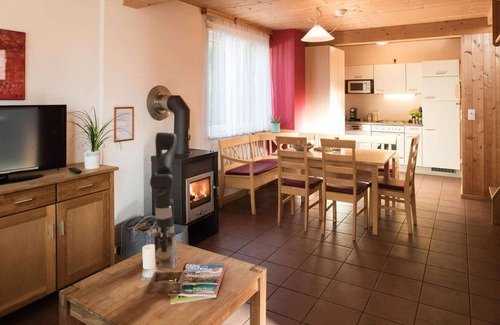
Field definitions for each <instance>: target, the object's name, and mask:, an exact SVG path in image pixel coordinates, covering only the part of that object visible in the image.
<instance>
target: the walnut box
mask: <svg viewBox="0 0 500 325" xmlns="http://www.w3.org/2000/svg"><path fill="white" fill-rule="evenodd" d="M185 278H186V274H185V270H182V271H181V270H179V271H177V270H176V271H175V270H174V271H173V270H171V271H154V272H153V274H152V277H151V278H150V279H149V280H150V281H149V282H148V293H149V294H171V293H170V292H172V291H181V289H182V290H183V288H182V286H183V287H184V285H183V282H184V279H185ZM175 279H180V280H179V282H175V281H169V280H175ZM185 280H186V279H185ZM184 283H185V282H184ZM181 292H182V291H181Z"/></svg>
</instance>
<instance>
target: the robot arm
mask: <svg viewBox="0 0 500 325" xmlns="http://www.w3.org/2000/svg"><path fill="white" fill-rule="evenodd" d="M154 142H155V170H154V172H153V173H152V175H151V177H150V180H149V185H150V187H151V189H153V190H154V191H155V194H154V201H153V202H154V204H153V211H154V214H155V225H156V227H157V230H158V232H160V233H159V242H160V243H159V244H160V245H161V250H162V252H166V251H167V250H166V239H167V236H168V233H175V221H174V220H175V219H174V217H175V216H174V215H175V214H174V213H175V211H174V210H175V209H174V208H175V206H174V205H175V204H174V201H173V198H171V197H172V191H173V186H174V182H175V181H174V177H173V168H172V165H173V160H174V159H173V158H174V157H175V154H176V153H175V152H176V149H177V144H178V136H177V134H175V133H172V132H161V131H160V132H156V135H155V140H154ZM163 151H165V152H164V153H163ZM158 232H157V233H158ZM165 236H166V238H165ZM162 240H163V241H164V242H162Z"/></svg>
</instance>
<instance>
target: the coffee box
mask: <svg viewBox="0 0 500 325" xmlns="http://www.w3.org/2000/svg"><path fill="white" fill-rule="evenodd" d="M159 233H160V232H157V233H156V234H155V235H154V238H153V239H154V258H155V259H154V261H155V268H157V269H167V270H174V268H175V267H176V266H177V264H178V255H177V254H178V252H177V250H178V249H177V233H176V232H174V233H168V236H167V239H166V250H167V251H166V252H162V250H161V245H160V244H159V243H160V242H159ZM165 238H166V236H165ZM162 242H164V241H163V240H162Z"/></svg>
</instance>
